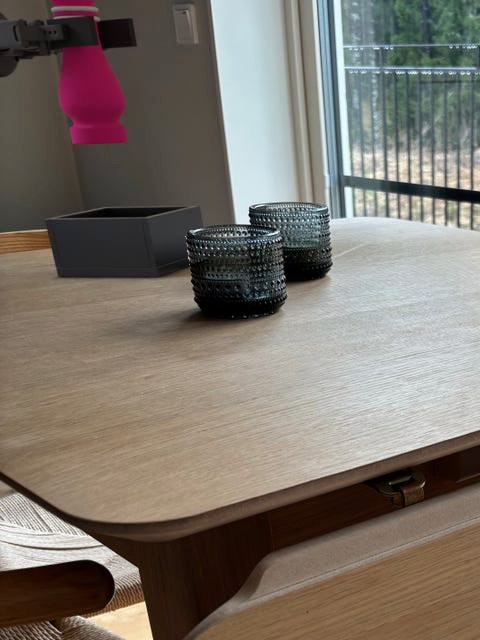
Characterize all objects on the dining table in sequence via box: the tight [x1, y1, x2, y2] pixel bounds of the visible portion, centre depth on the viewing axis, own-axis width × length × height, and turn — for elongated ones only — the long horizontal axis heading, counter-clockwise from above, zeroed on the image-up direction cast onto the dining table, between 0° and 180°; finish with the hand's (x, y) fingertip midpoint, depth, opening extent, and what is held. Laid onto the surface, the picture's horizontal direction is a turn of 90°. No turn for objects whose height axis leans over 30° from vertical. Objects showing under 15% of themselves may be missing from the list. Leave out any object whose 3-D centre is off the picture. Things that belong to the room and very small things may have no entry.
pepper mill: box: [49, 0, 129, 146], centre depth 111 cm, size 7×7×20 cm
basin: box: [44, 205, 204, 278], centre depth 112 cm, size 12×12×6 cm
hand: (113, 31), depth 108 cm, fingers closed on pepper mill, 5 cm apart
